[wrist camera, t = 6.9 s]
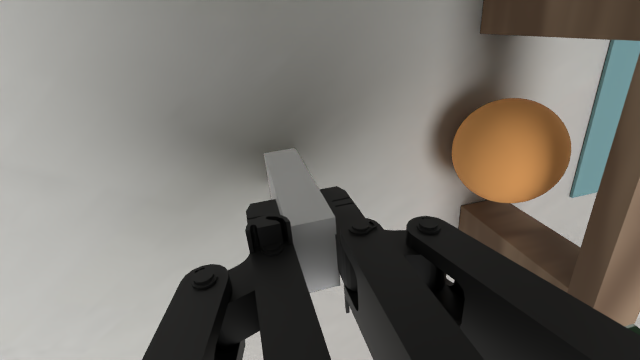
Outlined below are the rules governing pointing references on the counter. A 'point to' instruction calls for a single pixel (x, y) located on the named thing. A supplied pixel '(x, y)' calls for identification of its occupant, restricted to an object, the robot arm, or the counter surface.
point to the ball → (511, 150)
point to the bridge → (616, 184)
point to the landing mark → (605, 115)
